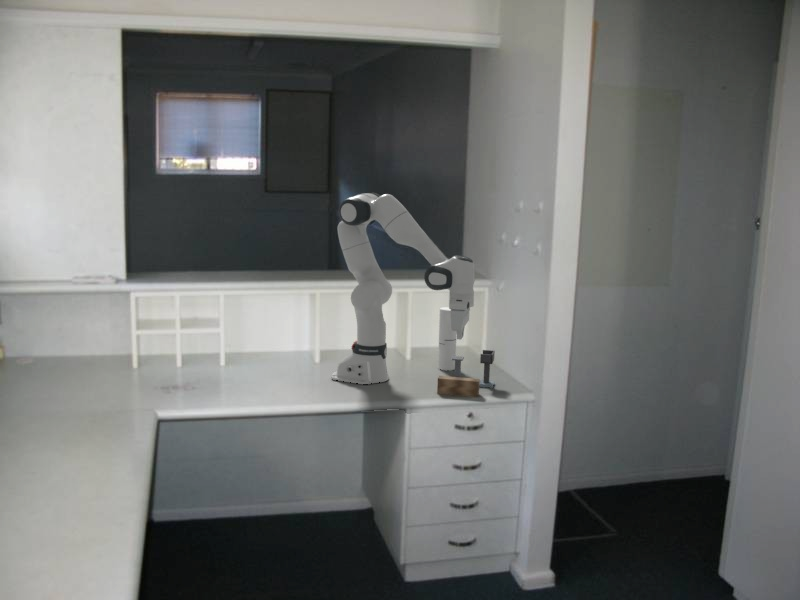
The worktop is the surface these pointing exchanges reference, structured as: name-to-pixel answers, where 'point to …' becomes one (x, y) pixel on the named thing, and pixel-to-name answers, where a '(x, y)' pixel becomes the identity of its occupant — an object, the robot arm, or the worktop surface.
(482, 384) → the stand
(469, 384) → the rail
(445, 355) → the cylindrical container
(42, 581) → the worktop surface
